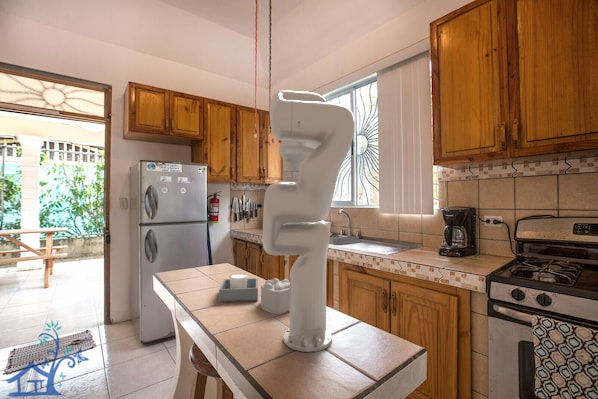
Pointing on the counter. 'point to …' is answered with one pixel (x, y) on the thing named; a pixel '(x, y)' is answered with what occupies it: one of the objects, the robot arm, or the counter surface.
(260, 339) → the counter surface
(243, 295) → the bin
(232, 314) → the counter surface
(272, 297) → the lumpy-topped squat cylinder
